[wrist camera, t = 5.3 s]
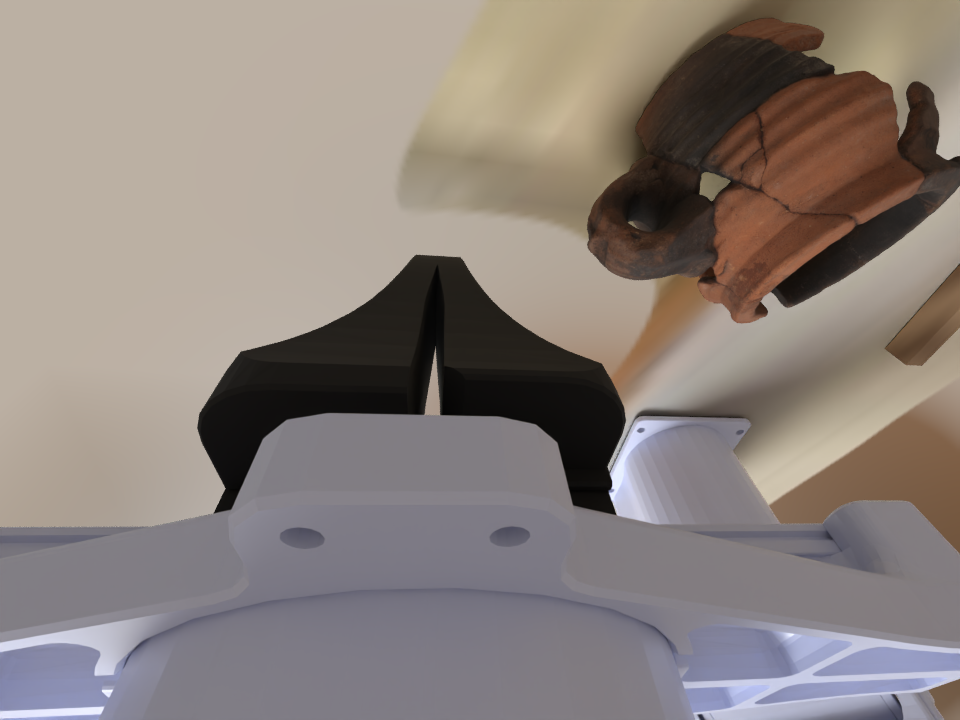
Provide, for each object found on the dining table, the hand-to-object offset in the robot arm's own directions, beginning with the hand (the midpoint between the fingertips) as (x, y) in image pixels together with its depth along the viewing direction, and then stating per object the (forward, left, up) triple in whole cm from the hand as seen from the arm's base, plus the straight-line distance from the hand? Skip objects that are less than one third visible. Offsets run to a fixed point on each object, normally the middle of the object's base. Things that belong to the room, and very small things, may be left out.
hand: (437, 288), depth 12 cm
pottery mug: (+2, -11, -8) cm, 14 cm away
